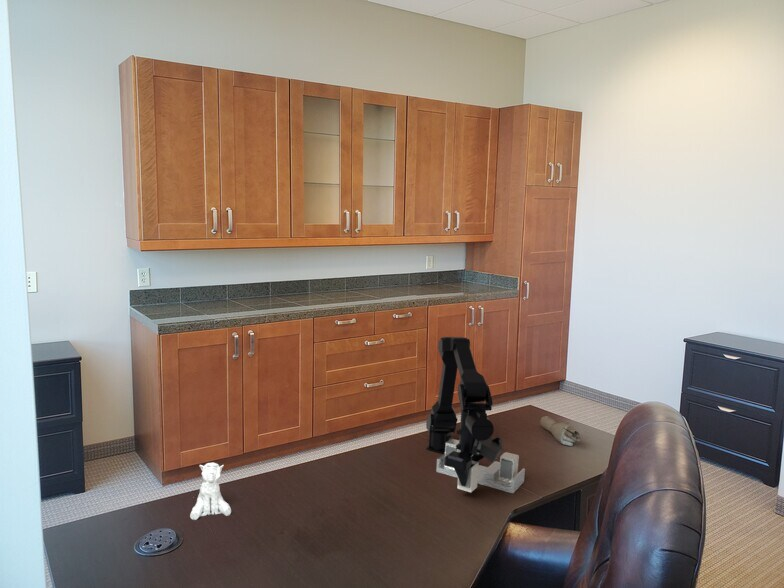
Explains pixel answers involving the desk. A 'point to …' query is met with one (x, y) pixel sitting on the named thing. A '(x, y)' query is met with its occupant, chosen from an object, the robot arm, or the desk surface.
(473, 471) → the white rectangular block
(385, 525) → the desk surface
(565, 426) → the mannequin hand
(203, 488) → the seated beast figurine
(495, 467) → the white slotted block stand
